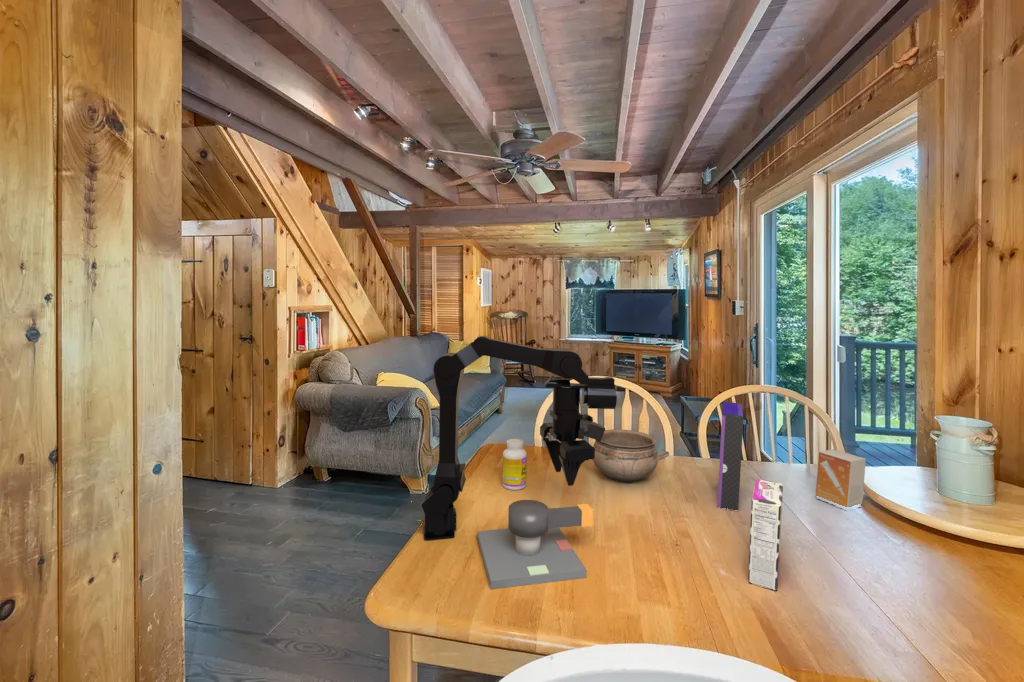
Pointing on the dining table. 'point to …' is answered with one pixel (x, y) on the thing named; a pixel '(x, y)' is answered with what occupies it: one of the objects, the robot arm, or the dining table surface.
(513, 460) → the supplement bottle
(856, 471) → the small box
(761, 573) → the candy bar box
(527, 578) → the base
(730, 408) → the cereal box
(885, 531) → the dining table surface
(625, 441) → the cooking pot
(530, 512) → the lock lever handle
